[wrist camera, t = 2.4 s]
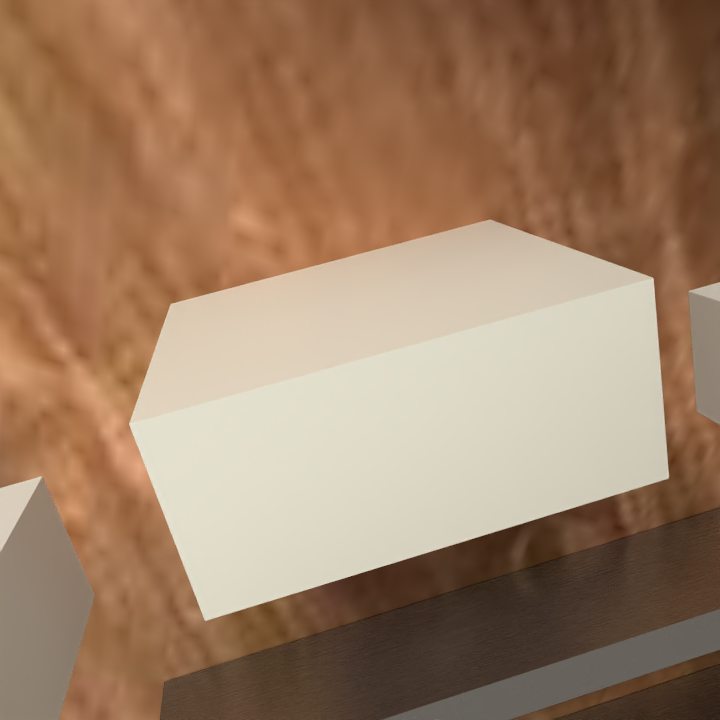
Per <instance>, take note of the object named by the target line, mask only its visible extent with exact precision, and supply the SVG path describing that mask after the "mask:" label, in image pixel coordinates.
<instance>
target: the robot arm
mask: <svg viewBox="0 0 720 720" xmlns="http://www.w3.org/2000/svg"><path fill="white" fill-rule="evenodd" d="M688 294H689V308H690V322H691V337H692V351H693V365H694V379H695V393H696V407H697V412H698V413H700V414H702V415H703V416H705V417H707V418H709V419H710V420H712V421H714V422H716V423H717V424H719V425H720V282H719V283H715V284H712V285H708V286H705V287H701V288H698V289H694V290H691V291H688ZM94 597H95V594H94V592H93V590H92V588H91V585H90V583H89V581H88V578H87V576H86V574H85V572H84V569H83V567H82V565H81V563H80V560H79V558H78V556H77V553H76V551H75V549H74V547H73V544H72V542H71V540H70V538H69V535H68V533H67V531H66V528H65V526H64V524H63V522H62V519H61V517H60V515H59V513H58V510H57V508H56V506H55V503H54V501H53V499H52V497H51V494H50V492H49V490H48V488H47V485H46V483H45V481H44V478H43V476H41V477H38V478H34V479H31V480H27V481H24V482H20V483H17V484H13V485H10V486H6V487H3V488H1V489H0V720H59V717H60V713H61V710H62V706H63V703H64V700H65V696H66V693H67V689H68V686H69V683H70V679H71V676H72V672H73V669H74V666H75V662H76V659H77V655H78V652H79V648H80V645H81V642H82V638H83V635H84V631H85V628H86V625H87V621H88V618H89V614H90V611H91V608H92V604H93V601H94Z"/></svg>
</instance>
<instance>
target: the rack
mask: <svg viewBox="0 0 720 720" xmlns="http://www.w3.org/2000/svg"><path fill="white" fill-rule="evenodd" d="M717 650H720V508H719V509H715V510H712V511H709V512H706V513H703V514H700V515H696V516H693V517H690V518H687V519H684V520H680V521H677V522H674V523H671V524H668V525H664V526H661V527H658V528H655V529H652V530H648V531H645V532H642V533H639V534H636V535H632V536H629V537H626V538H623V539H620V540H617V541H613V542H610V543H607V544H604V545H601V546H597V547H594V548H591V549H588V550H585V551H581V552H578V553H575V554H572V555H569V556H565V557H562V558H559V559H556V560H553V561H549V562H546V563H543V564H540V565H537V566H534V567H530V568H527V569H524V570H521V571H518V572H514V573H511V574H508V575H505V576H502V577H498V578H495V579H492V580H489V581H486V582H482V583H479V584H476V585H473V586H470V587H466V588H463V589H460V590H457V591H454V592H451V593H447V594H444V595H441V596H438V597H435V598H431V599H428V600H425V601H422V602H419V603H415V604H412V605H409V606H406V607H403V608H399V609H396V610H393V611H390V612H387V613H383V614H380V615H377V616H374V617H371V618H368V619H364V620H361V621H358V622H355V623H352V624H348V625H345V626H342V627H339V628H336V629H332V630H329V631H326V632H323V633H320V634H316V635H313V636H310V637H307V638H304V639H301V640H297V641H294V642H291V643H288V644H285V645H281V646H278V647H275V648H272V649H269V650H265V651H262V652H259V653H256V654H253V655H249V656H246V657H243V658H240V659H237V660H233V661H230V662H227V663H224V664H221V665H218V666H214V667H211V668H208V669H205V670H202V671H198V672H195V673H192V674H189V675H186V676H182V677H179V678H176V679H173V680H170V681H166V682H164V689H163V697H162V705H161V714H160V720H510V719H513V718H516V717H519V716H522V715H525V714H528V713H531V712H534V711H537V710H540V709H543V708H546V707H549V706H552V705H555V704H558V703H561V702H564V701H567V700H570V699H573V698H576V697H579V696H582V695H585V694H588V693H591V692H594V691H597V690H600V689H603V688H606V687H609V686H612V685H615V684H618V683H621V682H624V681H627V680H630V679H633V678H636V677H639V676H642V675H645V674H648V673H651V672H654V671H657V670H660V669H663V668H666V667H669V666H672V665H675V664H678V663H681V662H684V661H687V660H690V659H693V658H696V657H699V656H702V655H705V654H708V653H711V652H714V651H717ZM556 720H720V665H717V666H714V667H711V668H708V669H705V670H702V671H699V672H696V673H693V674H690V675H687V676H684V677H681V678H678V679H675V680H672V681H669V682H666V683H663V684H660V685H657V686H654V687H651V688H648V689H645V690H643V691H640V692H637V693H634V694H631V695H628V696H625V697H622V698H619V699H616V700H613V701H610V702H607V703H604V704H601V705H598V706H595V707H592V708H589V709H586V710H583V711H580V712H577V713H574V714H571V715H568V716H565V717H562V718H559V719H556Z"/></svg>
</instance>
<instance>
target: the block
mask: <svg viewBox="0 0 720 720" xmlns="http://www.w3.org/2000/svg"><path fill="white" fill-rule="evenodd" d="M129 425H130V427H131V430H132V433H133V435H134V438H135V440H136V443H137V446H138V448H139V451H140V453H141V456H142V459H143V461H144V464H145V466H146V469H147V472H148V474H149V477H150V479H151V482H152V485H153V487H154V490H155V492H156V495H157V498H158V500H159V503H160V505H161V508H162V510H163V513H164V516H165V518H166V521H167V523H168V526H169V529H170V531H171V534H172V536H173V539H174V542H175V544H176V547H177V549H178V552H179V555H180V557H181V560H182V562H183V565H184V568H185V570H186V573H187V575H188V578H189V581H190V583H191V586H192V588H193V591H194V594H195V596H196V599H197V601H198V604H199V607H200V609H201V612H202V614H203V617H204V619H205V621H207V620H210V619H213V618H216V617H220V616H223V615H226V614H229V613H233V612H236V611H239V610H242V609H246V608H249V607H252V606H255V605H259V604H262V603H265V602H268V601H272V600H275V599H278V598H281V597H285V596H288V595H291V594H295V593H298V592H301V591H304V590H308V589H311V588H314V587H317V586H321V585H324V584H327V583H330V582H334V581H337V580H340V579H343V578H347V577H350V576H353V575H356V574H360V573H363V572H366V571H369V570H373V569H376V568H379V567H382V566H386V565H389V564H392V563H395V562H399V561H402V560H405V559H408V558H412V557H415V556H418V555H421V554H425V553H428V552H431V551H434V550H438V549H441V548H444V547H448V546H451V545H454V544H457V543H461V542H464V541H467V540H470V539H474V538H477V537H480V536H483V535H487V534H490V533H493V532H496V531H500V530H503V529H506V528H509V527H513V526H516V525H519V524H522V523H526V522H529V521H532V520H535V519H539V518H542V517H545V516H548V515H552V514H555V513H558V512H561V511H565V510H568V509H571V508H574V507H578V506H581V505H584V504H588V503H591V502H594V501H597V500H601V499H604V498H607V497H610V496H614V495H617V494H620V493H623V492H627V491H630V490H633V489H636V488H640V487H643V486H646V485H649V484H653V483H656V482H659V481H662V480H666V479H669V471H668V458H667V445H666V433H665V420H664V407H663V394H662V381H661V368H660V356H659V343H658V330H657V317H656V304H655V291H654V279H653V278H652V277H649V276H647V275H644V274H641V273H638V272H635V271H633V270H630V269H627V268H624V267H621V266H619V265H616V264H613V263H610V262H607V261H605V260H602V259H599V258H596V257H593V256H591V255H588V254H585V253H582V252H580V251H577V250H574V249H571V248H568V247H566V246H563V245H560V244H557V243H554V242H552V241H549V240H546V239H543V238H540V237H538V236H535V235H532V234H529V233H526V232H524V231H521V230H518V229H515V228H512V227H510V226H507V225H504V224H501V223H498V222H496V221H493V220H486V221H483V222H479V223H475V224H471V225H468V226H464V227H460V228H456V229H452V230H449V231H445V232H441V233H437V234H434V235H430V236H426V237H422V238H418V239H415V240H411V241H407V242H403V243H400V244H396V245H392V246H388V247H384V248H381V249H377V250H373V251H369V252H366V253H362V254H358V255H354V256H350V257H347V258H343V259H339V260H335V261H332V262H328V263H324V264H320V265H316V266H313V267H309V268H305V269H301V270H298V271H294V272H290V273H286V274H282V275H279V276H275V277H271V278H267V279H264V280H260V281H256V282H252V283H248V284H245V285H241V286H237V287H233V288H230V289H226V290H222V291H218V292H214V293H211V294H207V295H203V296H199V297H196V298H192V299H188V300H184V301H180V302H177V303H173V304H171V305H170V308H169V311H168V313H167V316H166V319H165V322H164V325H163V328H162V331H161V334H160V337H159V339H158V342H157V345H156V348H155V351H154V354H153V357H152V360H151V363H150V365H149V368H148V371H147V374H146V377H145V380H144V383H143V386H142V389H141V391H140V394H139V397H138V400H137V403H136V406H135V409H134V412H133V415H132V418H131V420H130V423H129Z"/></svg>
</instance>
